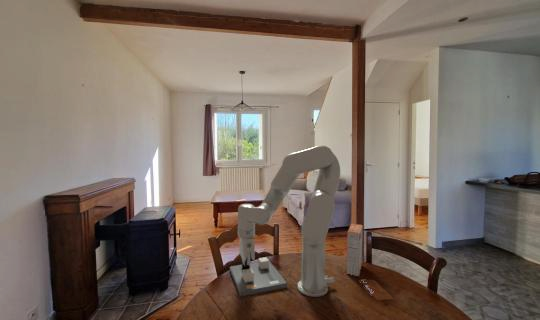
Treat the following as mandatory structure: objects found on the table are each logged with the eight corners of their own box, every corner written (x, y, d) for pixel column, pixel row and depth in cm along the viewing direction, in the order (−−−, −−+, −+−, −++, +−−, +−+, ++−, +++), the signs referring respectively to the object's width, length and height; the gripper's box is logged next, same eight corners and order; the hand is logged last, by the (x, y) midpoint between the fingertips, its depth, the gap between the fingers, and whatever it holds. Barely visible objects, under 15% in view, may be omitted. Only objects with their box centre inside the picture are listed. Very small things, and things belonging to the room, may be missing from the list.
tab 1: (251, 276, 107) (251, 268, 107) (253, 281, 103) (254, 272, 103) (242, 277, 106) (242, 269, 106) (244, 282, 102) (244, 274, 102)
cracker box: (349, 262, 128) (351, 223, 127) (362, 265, 125) (363, 224, 124) (345, 274, 115) (346, 230, 114) (359, 277, 112) (360, 232, 112)
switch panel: (269, 264, 124) (269, 260, 124) (286, 287, 103) (286, 282, 103) (229, 270, 117) (229, 266, 117) (240, 296, 96) (240, 291, 96)
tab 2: (266, 264, 119) (266, 257, 119) (269, 267, 115) (269, 260, 115) (258, 265, 118) (258, 258, 117) (260, 269, 114) (261, 261, 114)
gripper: (259, 237, 102) (258, 280, 103) (250, 226, 116) (249, 264, 117) (241, 239, 100) (241, 283, 100) (234, 228, 114) (234, 266, 114)
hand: (245, 273), depth 109 cm, fingers closed
